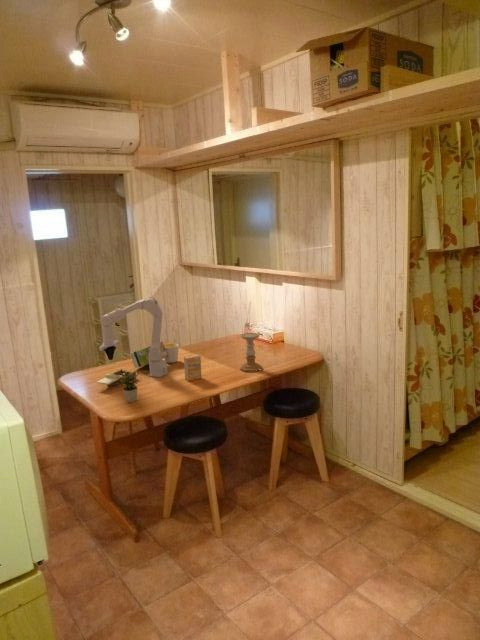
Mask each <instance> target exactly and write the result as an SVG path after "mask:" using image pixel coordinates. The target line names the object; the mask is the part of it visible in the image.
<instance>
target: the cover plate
mask: <svg viewBox="0 0 480 640" xmlns="http://www.w3.org/2000/svg"><path fill="white" fill-rule="evenodd" d="M115 376H118V377H115ZM122 377H123V376H122V375H115V374H112V373H105V377H104V378H101V379H99V380H97V381H96V383H97V384H100V385H106V386H108V385H109V384H111V383H113V382H115V381H117V380H119V379H120V378H122ZM109 386H110V385H109Z"/></svg>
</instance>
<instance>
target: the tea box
mask: <svg viewBox="0 0 480 640" xmlns="http://www.w3.org/2000/svg"><path fill="white" fill-rule="evenodd" d="M150 349H151V345H148V346H144V347H142V348H140V349H138V350H134V351H132V352H130V353H129V355H130V357H131V360H132V363H133V367H134V368H135V369H138V368H139V369H140V368H141V367H145V366H148V365H149V357H148V354H149V352H150ZM160 349H161V353H160V356H161V357H162V360H164V359H165V357H168V355H167V352H166V350H165V347H164V342H163V341H160Z"/></svg>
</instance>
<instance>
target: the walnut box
mask: <svg viewBox="0 0 480 640" xmlns="http://www.w3.org/2000/svg"><path fill="white" fill-rule="evenodd" d="M119 371H120V372H121V373H122V374H123V375H124V377H126V376H125V371H126V372H127V373H128V375H129V373H130V372H131V373H130V376H129V378H130V381H131V378H132V377H133V374H134V372H135V375H137V373H136V372H137V371H136V370H133V371H130V372H129V371H127V370H125V371H124V369H122V368H121V369H118V371H117V370H116V371H114V372H113V373H111V374H115V375H122V374H121V373H120V372H119ZM135 375H134V376H135ZM124 377H123V378H124ZM123 378H120V379H119V380H117V381H115V382H113V383H111V384H109V386H110V385H111V386H117V387H119V385H120V384H123V385H121V386H120V387H122V386H123V387H124V386H126V385H125V384H124V383H123V382H121V380H124V379H123ZM134 378H135V377H134ZM135 380H137V377H136V378H135Z"/></svg>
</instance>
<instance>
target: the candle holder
mask: <svg viewBox="0 0 480 640" xmlns="http://www.w3.org/2000/svg"><path fill="white" fill-rule="evenodd" d="M240 337H241V339H244V340H246V344H245V346H246V351H245V355H246V356H245V360H246V362H244V363H243V364H242V365H240V368H241V369H242V370H245V371H256V370H259V369H261V368H262V367H263V366H262V365H261V364H259V363H257V362H256V361H255V360H256V357H257V356H256V351H255V346H256V344H255V343H254V341H255V339H256V340H257V339H258V338H259V337H260V334H259V333H256V332H246V333H242V334H241V335H240ZM241 369H240V370H241ZM242 370H241V371H242ZM261 370H262V369H261ZM245 371H244V372H245ZM259 371H260V370H259ZM256 372H257V371H256Z"/></svg>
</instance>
